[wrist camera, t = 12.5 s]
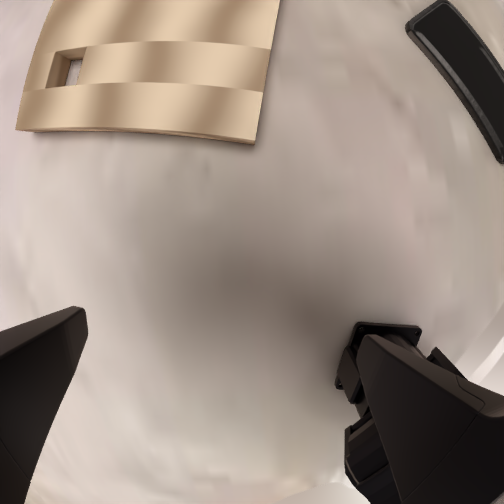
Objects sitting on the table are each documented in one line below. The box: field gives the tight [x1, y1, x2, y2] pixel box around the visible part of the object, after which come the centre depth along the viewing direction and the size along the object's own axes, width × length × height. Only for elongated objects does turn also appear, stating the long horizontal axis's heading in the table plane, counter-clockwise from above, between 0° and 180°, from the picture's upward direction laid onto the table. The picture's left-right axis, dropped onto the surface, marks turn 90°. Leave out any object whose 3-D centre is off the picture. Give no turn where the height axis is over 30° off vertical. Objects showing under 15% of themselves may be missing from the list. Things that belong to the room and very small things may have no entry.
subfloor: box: [15, 0, 280, 145], centre depth 15 cm, size 18×20×2 cm
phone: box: [405, 0, 504, 164], centre depth 17 cm, size 8×1×15 cm
